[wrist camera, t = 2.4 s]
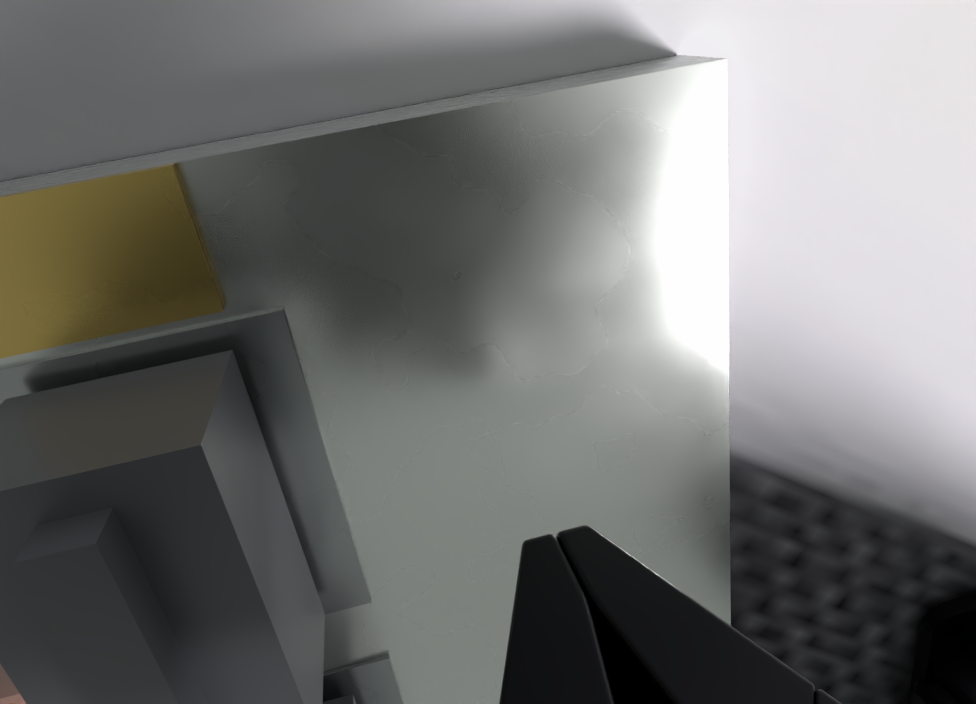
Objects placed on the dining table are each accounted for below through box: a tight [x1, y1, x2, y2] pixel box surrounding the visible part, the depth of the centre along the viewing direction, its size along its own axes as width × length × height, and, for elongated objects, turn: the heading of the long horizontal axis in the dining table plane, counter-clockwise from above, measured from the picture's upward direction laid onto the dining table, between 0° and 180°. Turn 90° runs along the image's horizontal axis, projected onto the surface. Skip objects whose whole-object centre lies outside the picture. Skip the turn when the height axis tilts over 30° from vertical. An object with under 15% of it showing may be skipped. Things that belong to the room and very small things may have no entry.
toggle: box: [0, 350, 325, 704], centre depth 9 cm, size 3×5×3 cm, turn 9°
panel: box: [0, 55, 731, 704], centre depth 12 cm, size 24×16×3 cm, turn 99°
